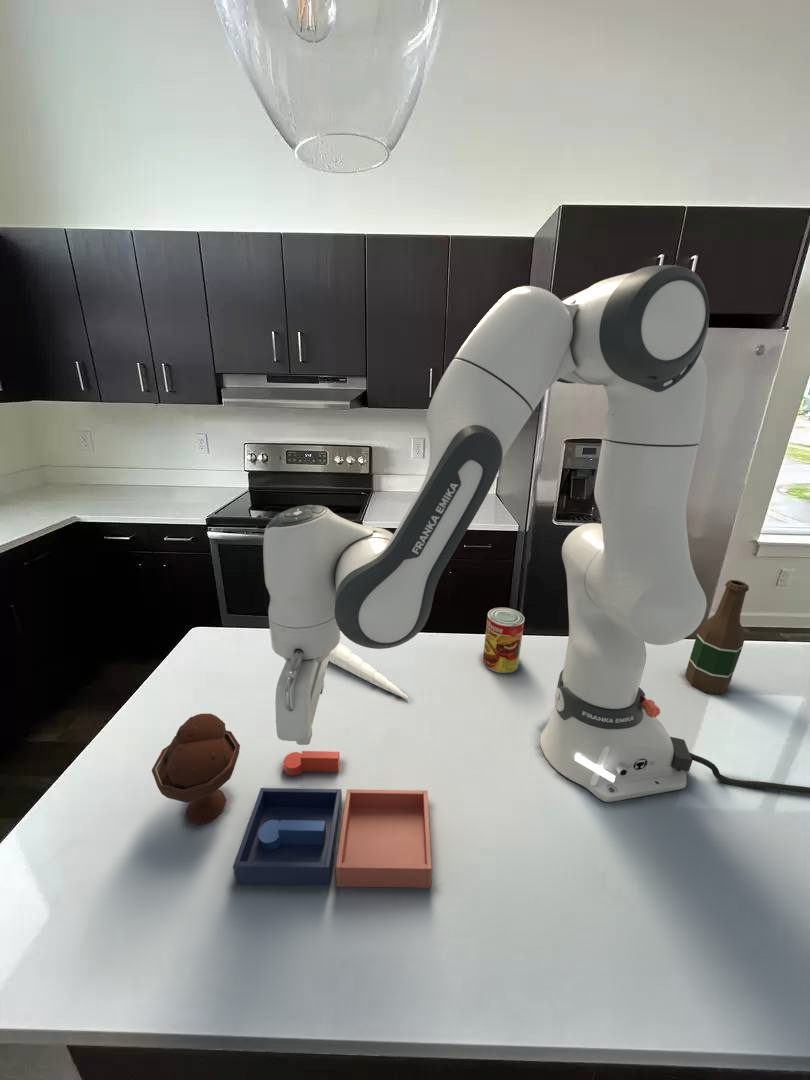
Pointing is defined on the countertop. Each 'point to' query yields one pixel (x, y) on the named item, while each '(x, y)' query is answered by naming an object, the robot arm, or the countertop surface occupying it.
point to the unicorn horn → (361, 669)
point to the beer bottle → (719, 643)
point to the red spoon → (311, 762)
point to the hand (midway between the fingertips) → (311, 714)
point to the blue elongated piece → (291, 833)
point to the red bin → (385, 839)
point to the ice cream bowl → (198, 766)
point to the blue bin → (290, 860)
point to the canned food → (503, 639)
